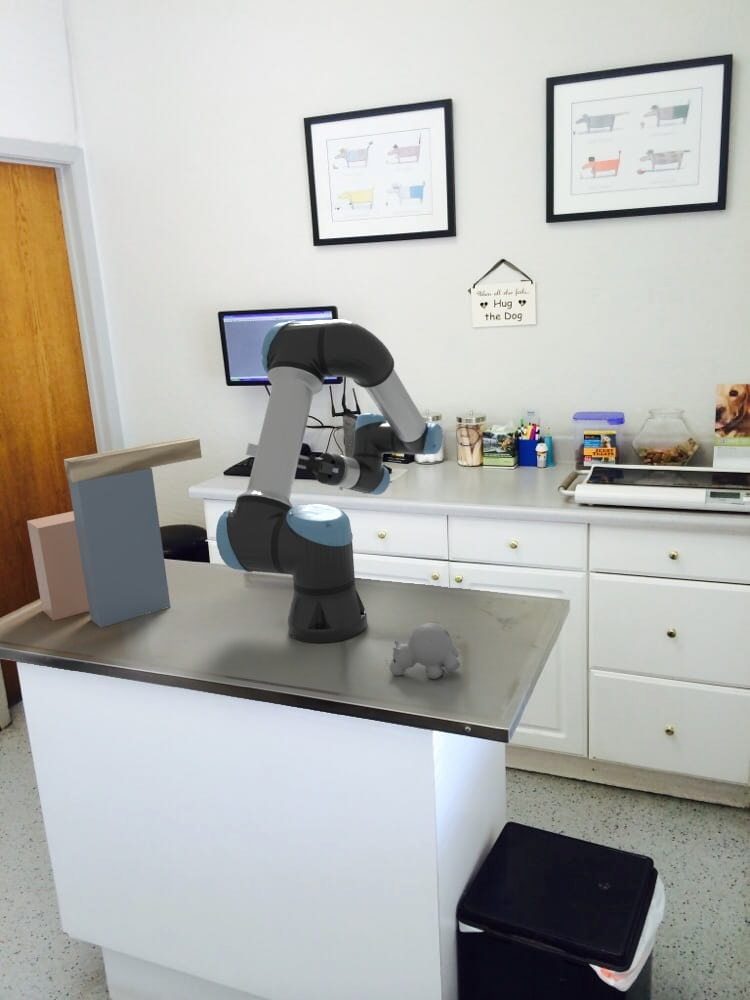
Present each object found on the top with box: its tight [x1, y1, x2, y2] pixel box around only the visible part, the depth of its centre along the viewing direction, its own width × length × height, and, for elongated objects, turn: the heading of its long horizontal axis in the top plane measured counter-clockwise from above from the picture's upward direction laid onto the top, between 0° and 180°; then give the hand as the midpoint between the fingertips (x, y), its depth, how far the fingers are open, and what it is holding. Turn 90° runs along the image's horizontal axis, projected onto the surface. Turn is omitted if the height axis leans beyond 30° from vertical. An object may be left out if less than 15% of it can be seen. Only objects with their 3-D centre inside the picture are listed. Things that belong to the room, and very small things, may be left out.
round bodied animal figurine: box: [384, 622, 461, 680], centre depth 143 cm, size 7×12×8 cm, turn 84°
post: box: [67, 467, 171, 628], centre depth 176 cm, size 6×15×30 cm, turn 127°
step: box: [26, 510, 89, 622], centre depth 182 cm, size 8×10×20 cm
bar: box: [63, 436, 203, 482], centre depth 174 cm, size 4×27×4 cm, turn 127°
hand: (264, 452), depth 191 cm, fingers open, 13 cm apart
